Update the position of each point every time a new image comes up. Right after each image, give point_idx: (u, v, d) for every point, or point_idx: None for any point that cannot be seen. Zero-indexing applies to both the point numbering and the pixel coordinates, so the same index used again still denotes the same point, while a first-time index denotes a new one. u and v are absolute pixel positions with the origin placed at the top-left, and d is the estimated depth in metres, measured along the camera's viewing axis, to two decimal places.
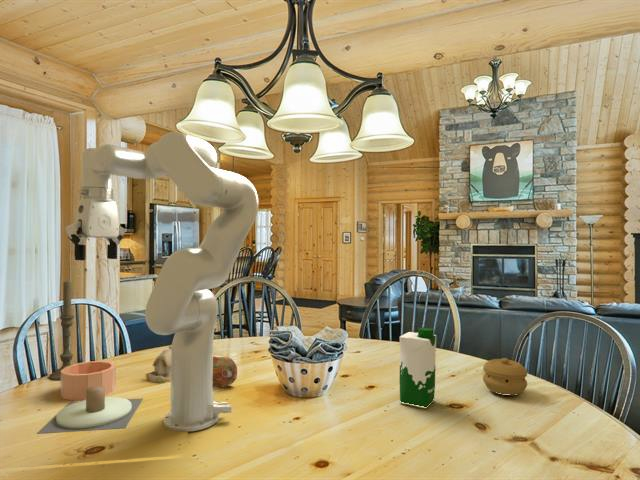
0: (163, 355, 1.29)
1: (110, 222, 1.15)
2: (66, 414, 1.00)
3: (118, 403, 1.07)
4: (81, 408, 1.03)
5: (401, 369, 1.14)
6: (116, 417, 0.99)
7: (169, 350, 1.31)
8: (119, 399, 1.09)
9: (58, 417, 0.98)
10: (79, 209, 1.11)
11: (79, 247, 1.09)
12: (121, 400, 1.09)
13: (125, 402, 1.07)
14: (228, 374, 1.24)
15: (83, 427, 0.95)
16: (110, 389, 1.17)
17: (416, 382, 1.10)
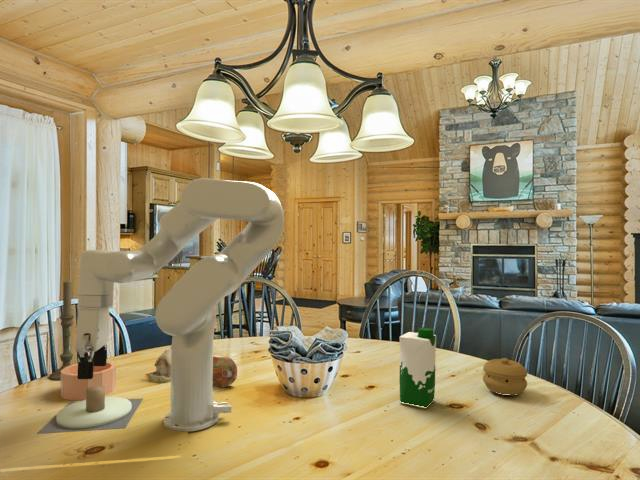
0: (165, 355, 1.29)
1: None
2: (66, 414, 1.00)
3: (118, 403, 1.07)
4: (81, 407, 1.03)
5: (401, 369, 1.14)
6: (116, 417, 0.99)
7: None
8: (119, 399, 1.09)
9: (58, 417, 0.98)
10: None
11: None
12: (121, 400, 1.09)
13: (125, 402, 1.07)
14: (228, 374, 1.24)
15: (83, 427, 0.95)
16: (110, 389, 1.17)
17: (416, 382, 1.10)
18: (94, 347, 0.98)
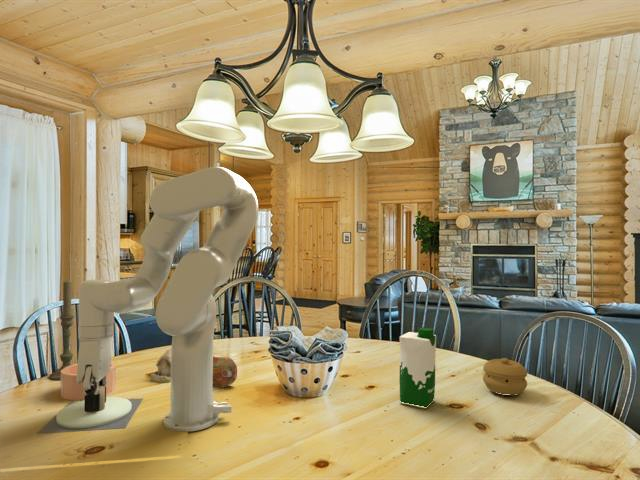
0: (167, 355, 1.29)
1: None
2: (66, 414, 1.00)
3: (118, 403, 1.07)
4: (81, 407, 1.03)
5: (401, 369, 1.14)
6: (116, 417, 0.99)
7: None
8: (119, 399, 1.09)
9: (58, 417, 0.98)
10: None
11: None
12: (121, 400, 1.09)
13: (125, 402, 1.07)
14: (228, 374, 1.24)
15: (83, 427, 0.95)
16: (110, 389, 1.17)
17: (416, 382, 1.10)
18: (96, 378, 0.98)
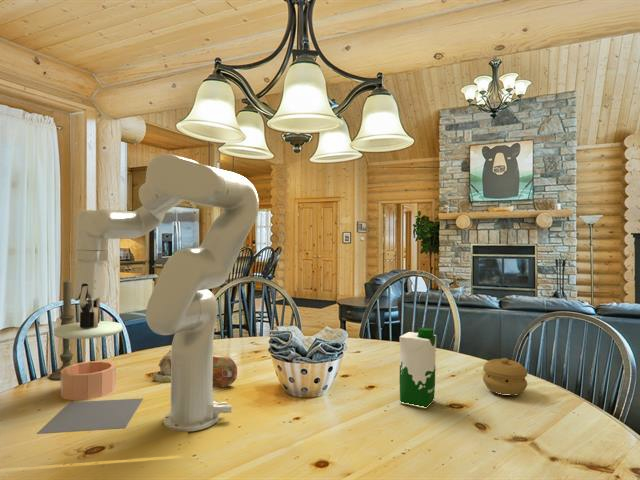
0: (170, 355, 1.29)
1: None
2: (63, 329, 1.10)
3: (110, 324, 1.18)
4: (76, 326, 1.14)
5: (401, 369, 1.14)
6: (108, 332, 1.10)
7: None
8: (111, 322, 1.20)
9: (56, 330, 1.09)
10: None
11: None
12: (113, 323, 1.19)
13: (116, 324, 1.18)
14: (228, 374, 1.24)
15: (79, 337, 1.06)
16: (110, 389, 1.17)
17: (416, 382, 1.10)
18: (91, 296, 1.09)
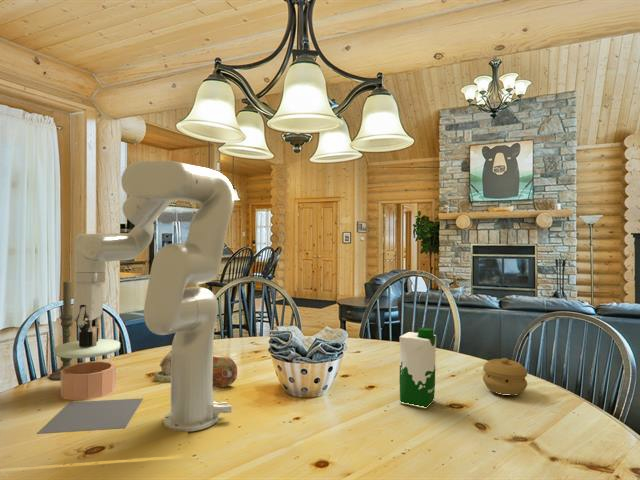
0: None
1: None
2: (63, 348, 1.15)
3: (108, 342, 1.22)
4: (76, 344, 1.19)
5: (401, 369, 1.14)
6: (106, 351, 1.14)
7: None
8: (109, 340, 1.25)
9: (56, 350, 1.13)
10: None
11: None
12: (111, 341, 1.24)
13: (114, 342, 1.23)
14: (228, 374, 1.24)
15: (77, 357, 1.10)
16: (110, 389, 1.17)
17: (416, 382, 1.10)
18: (89, 317, 1.14)
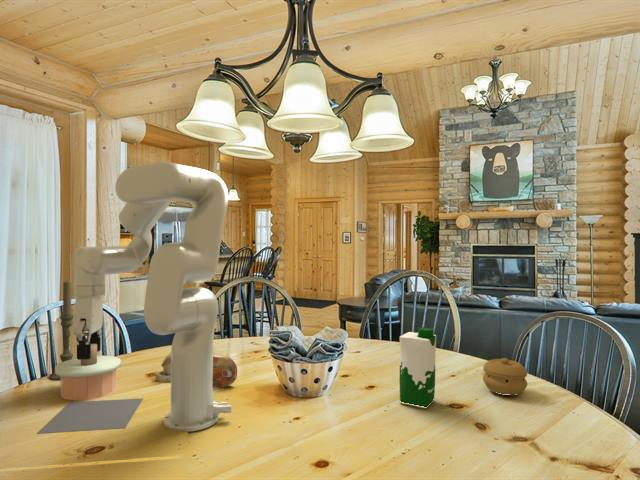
0: None
1: None
2: (63, 366, 1.15)
3: (109, 359, 1.22)
4: (76, 362, 1.19)
5: (401, 369, 1.14)
6: (107, 369, 1.14)
7: None
8: (110, 357, 1.25)
9: (56, 368, 1.13)
10: None
11: None
12: (111, 357, 1.24)
13: (115, 359, 1.23)
14: (228, 374, 1.24)
15: (78, 375, 1.10)
16: (110, 389, 1.17)
17: (416, 382, 1.10)
18: (89, 330, 1.14)
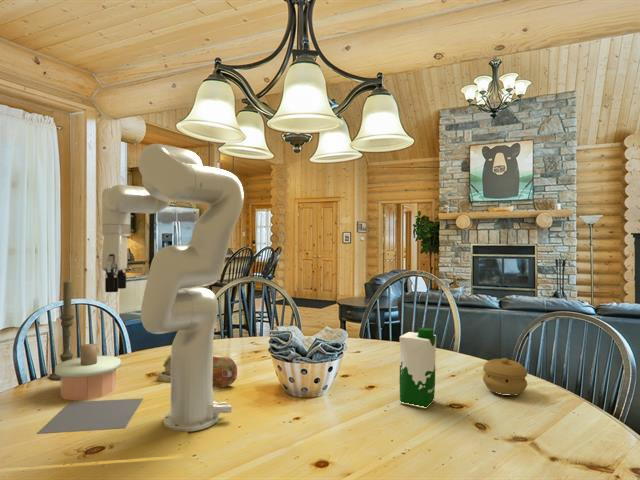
0: None
1: None
2: (63, 366, 1.15)
3: (109, 359, 1.22)
4: (76, 362, 1.19)
5: (401, 369, 1.14)
6: (107, 369, 1.14)
7: None
8: (110, 357, 1.25)
9: (56, 368, 1.13)
10: None
11: None
12: (111, 357, 1.24)
13: (115, 359, 1.23)
14: (228, 374, 1.24)
15: (78, 375, 1.10)
16: (110, 389, 1.17)
17: (416, 382, 1.10)
18: (118, 266, 1.19)
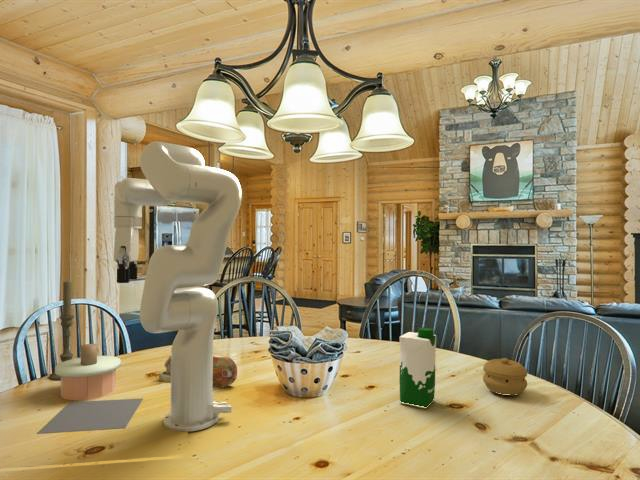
0: None
1: None
2: (63, 366, 1.15)
3: (109, 359, 1.22)
4: (76, 362, 1.19)
5: (401, 369, 1.14)
6: (107, 369, 1.14)
7: None
8: (110, 357, 1.25)
9: (56, 368, 1.13)
10: None
11: None
12: (111, 357, 1.24)
13: (115, 359, 1.23)
14: (228, 374, 1.24)
15: (78, 375, 1.10)
16: (110, 389, 1.17)
17: (416, 382, 1.10)
18: (129, 257, 1.22)
